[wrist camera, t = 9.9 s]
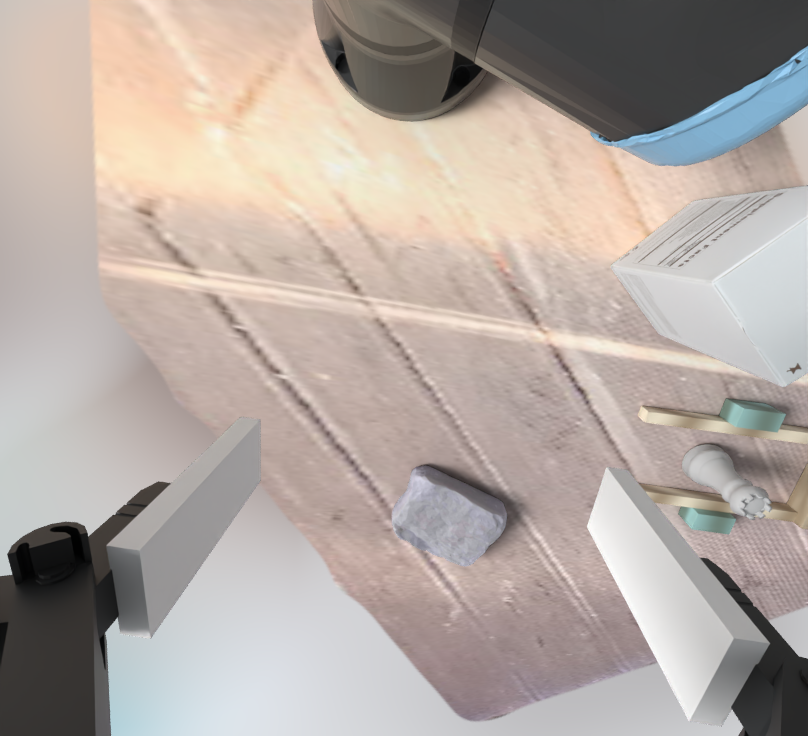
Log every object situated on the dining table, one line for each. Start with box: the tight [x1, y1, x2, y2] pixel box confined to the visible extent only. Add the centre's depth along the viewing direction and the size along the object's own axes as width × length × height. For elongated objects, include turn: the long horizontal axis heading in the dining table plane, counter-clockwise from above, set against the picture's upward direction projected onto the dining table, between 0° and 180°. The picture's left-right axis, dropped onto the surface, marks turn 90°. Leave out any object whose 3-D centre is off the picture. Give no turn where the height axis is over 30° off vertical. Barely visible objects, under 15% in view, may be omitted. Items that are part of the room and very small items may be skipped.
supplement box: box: [611, 185, 808, 387], centre depth 30 cm, size 9×9×15 cm
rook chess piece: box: [682, 444, 772, 520], centre depth 39 cm, size 4×4×8 cm
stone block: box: [392, 465, 507, 566], centre depth 47 cm, size 12×5×10 cm
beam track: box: [638, 398, 808, 534], centre depth 42 cm, size 20×14×2 cm
